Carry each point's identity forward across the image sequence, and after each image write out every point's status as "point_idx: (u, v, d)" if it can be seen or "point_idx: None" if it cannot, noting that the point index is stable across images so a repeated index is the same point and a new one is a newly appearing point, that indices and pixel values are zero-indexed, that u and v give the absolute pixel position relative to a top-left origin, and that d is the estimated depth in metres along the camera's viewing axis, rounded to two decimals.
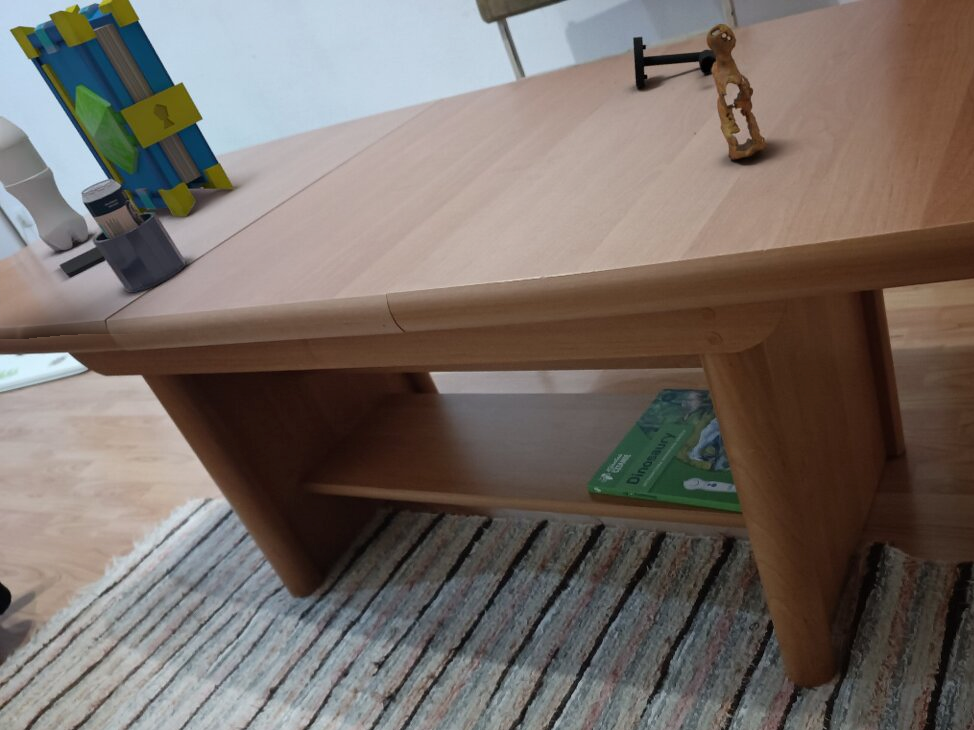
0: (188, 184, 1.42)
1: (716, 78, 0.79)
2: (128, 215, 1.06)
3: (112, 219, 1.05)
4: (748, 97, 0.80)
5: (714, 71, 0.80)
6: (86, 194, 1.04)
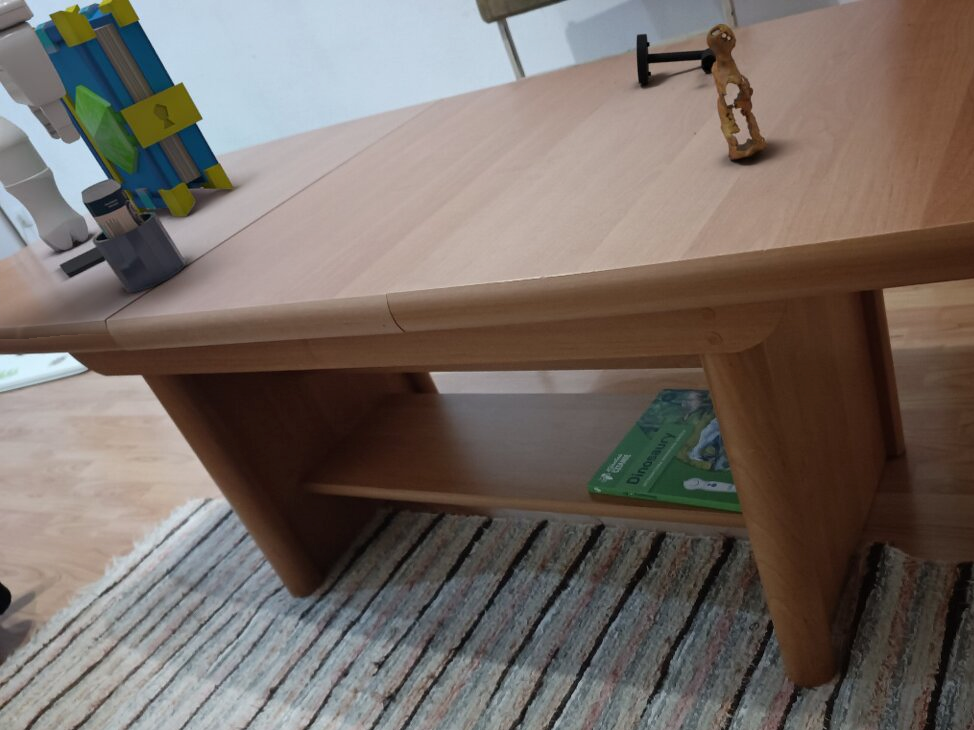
0: (188, 184, 1.42)
1: (716, 78, 0.79)
2: (128, 215, 1.06)
3: (112, 219, 1.05)
4: (748, 97, 0.80)
5: (714, 71, 0.80)
6: (86, 194, 1.04)
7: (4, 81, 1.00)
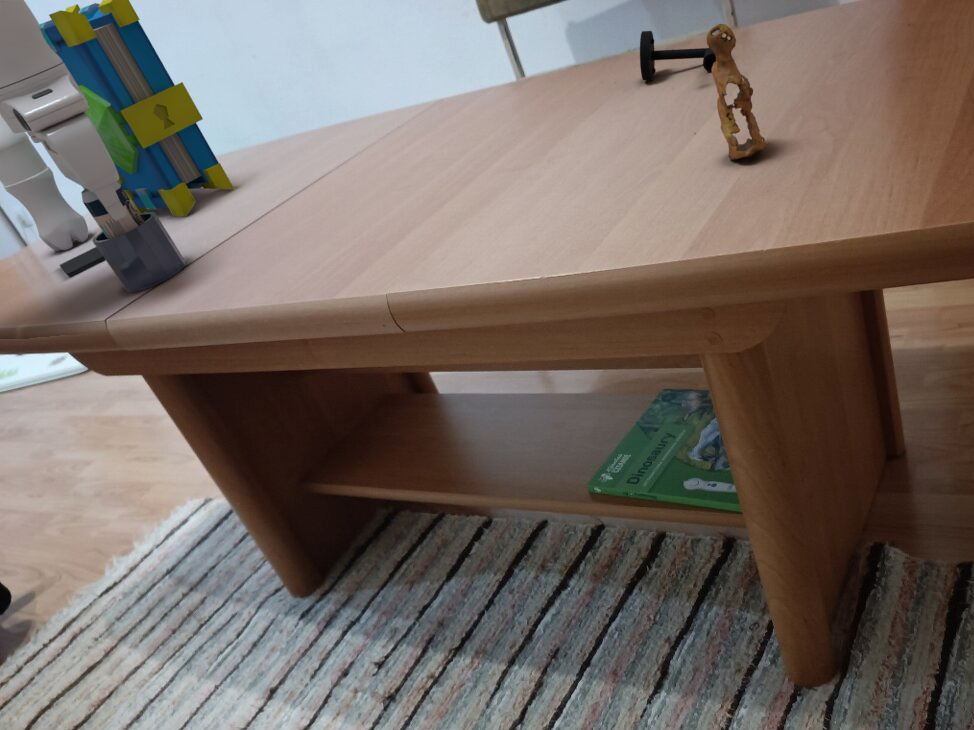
0: (188, 184, 1.42)
1: (716, 78, 0.79)
2: (128, 215, 1.06)
3: (112, 219, 1.05)
4: (748, 97, 0.80)
5: (714, 71, 0.80)
6: (86, 194, 1.04)
7: (57, 160, 1.05)
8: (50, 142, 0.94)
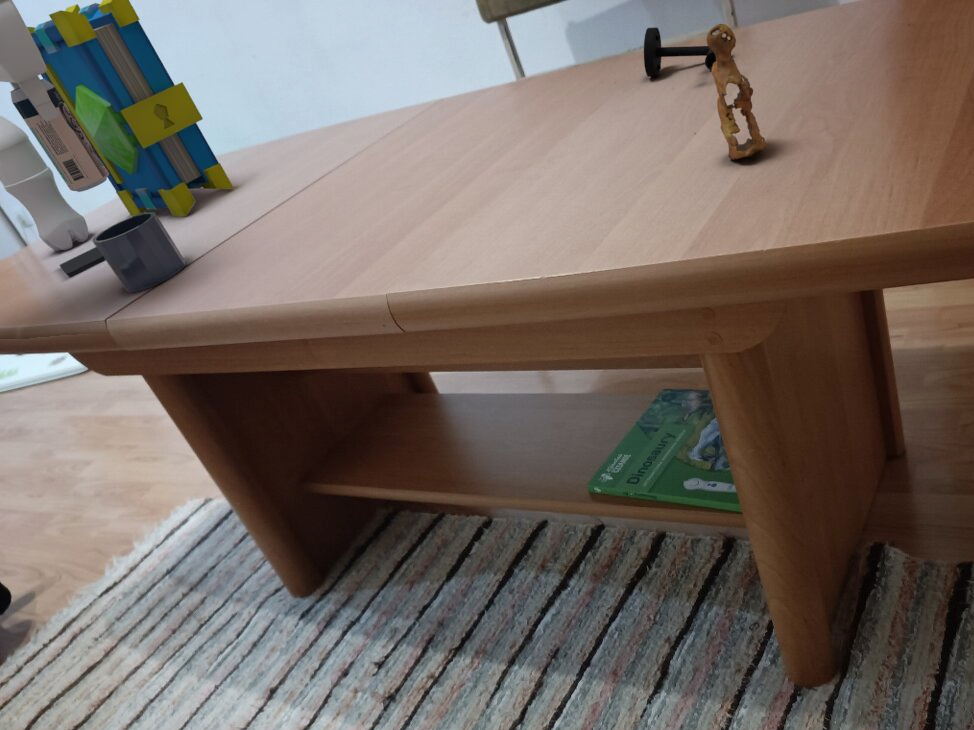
0: (188, 184, 1.42)
1: (716, 78, 0.79)
2: (61, 118, 0.99)
3: (44, 121, 0.99)
4: (748, 97, 0.80)
5: (714, 71, 0.80)
6: (15, 92, 0.97)
7: None
8: None
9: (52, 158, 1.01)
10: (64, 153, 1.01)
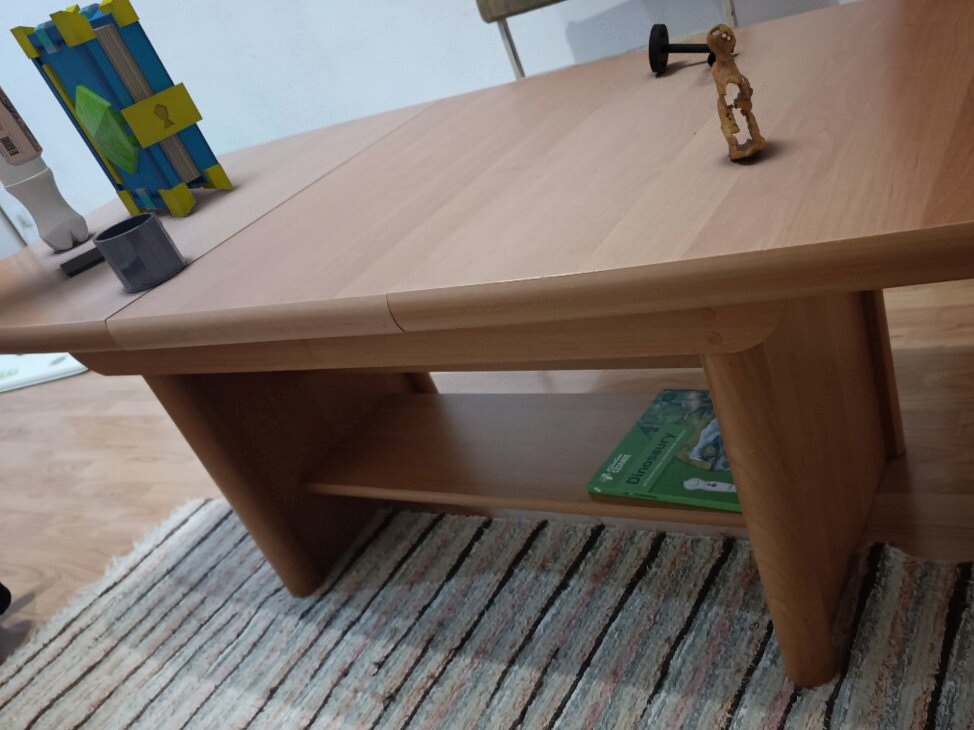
0: (188, 184, 1.42)
1: (716, 78, 0.79)
2: None
3: None
4: (748, 97, 0.80)
5: (714, 71, 0.80)
6: None
7: None
8: None
9: None
10: (0, 131, 1.14)
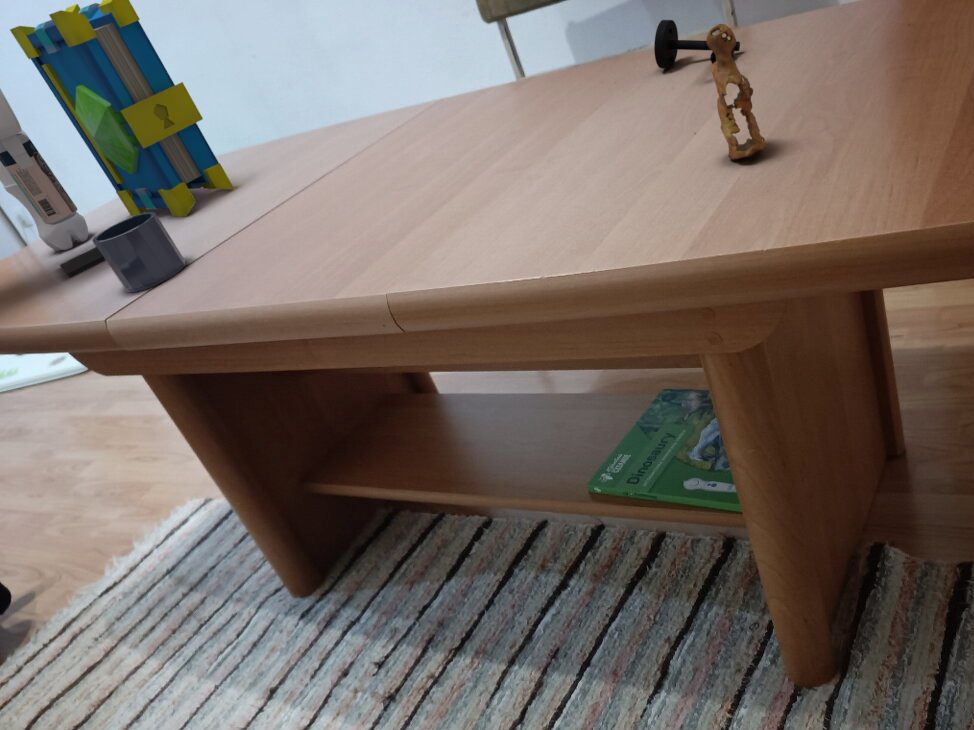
0: (188, 184, 1.42)
1: (716, 78, 0.79)
2: (35, 165, 1.20)
3: None
4: (748, 97, 0.80)
5: (714, 71, 0.80)
6: None
7: None
8: None
9: (29, 198, 1.22)
10: (39, 194, 1.21)
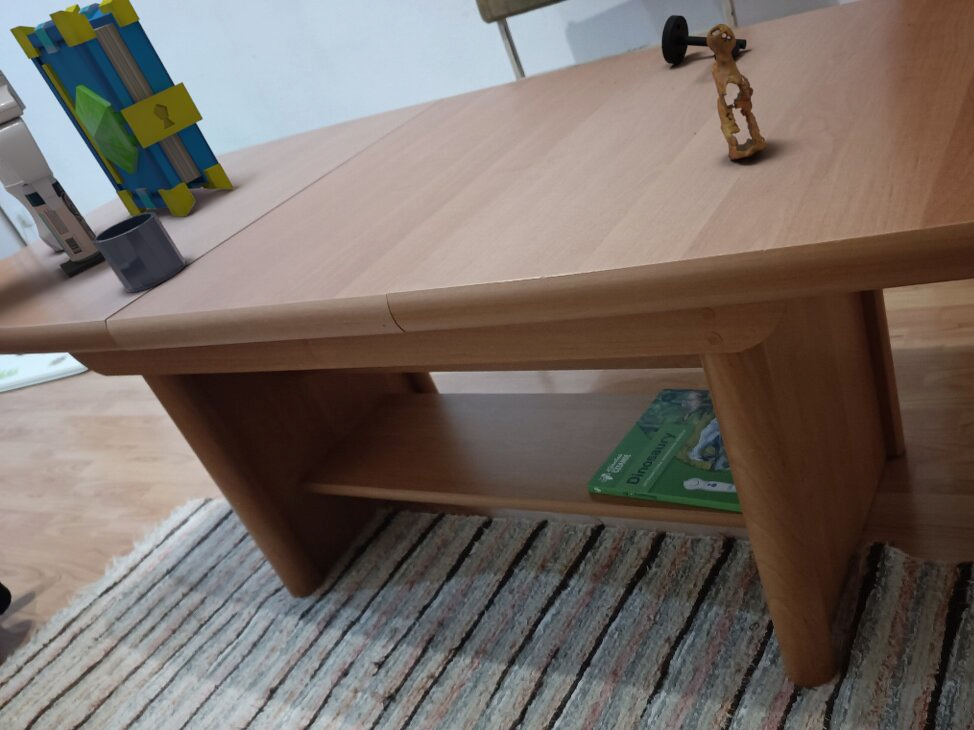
0: (188, 184, 1.42)
1: (716, 78, 0.79)
2: (63, 205, 1.24)
3: (49, 208, 1.23)
4: (748, 97, 0.80)
5: (714, 71, 0.80)
6: (26, 187, 1.21)
7: (1, 157, 1.23)
8: None
9: (56, 236, 1.25)
10: (66, 233, 1.25)
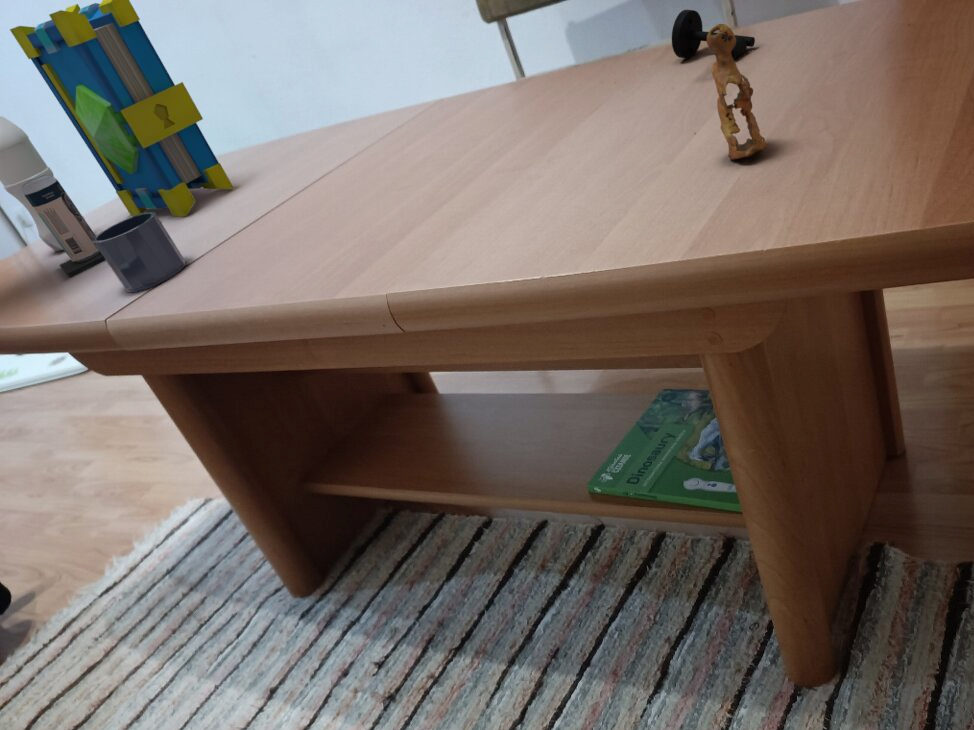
0: (188, 184, 1.42)
1: (716, 78, 0.79)
2: (63, 205, 1.24)
3: (49, 208, 1.23)
4: (748, 97, 0.80)
5: (714, 71, 0.80)
6: (26, 187, 1.21)
7: None
8: None
9: (56, 236, 1.25)
10: (66, 233, 1.25)
